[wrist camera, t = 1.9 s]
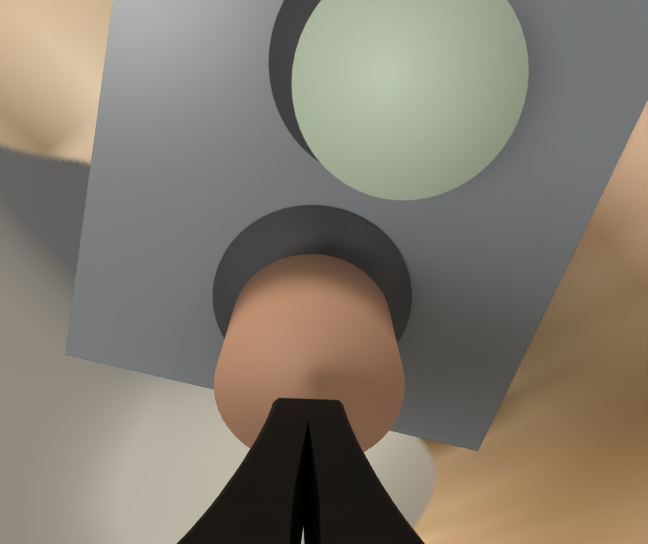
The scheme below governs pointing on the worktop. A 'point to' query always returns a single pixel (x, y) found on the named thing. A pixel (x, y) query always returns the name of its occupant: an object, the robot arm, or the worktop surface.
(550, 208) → the panel
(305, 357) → the button terracotta
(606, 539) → the worktop surface
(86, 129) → the worktop surface
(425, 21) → the button sage
